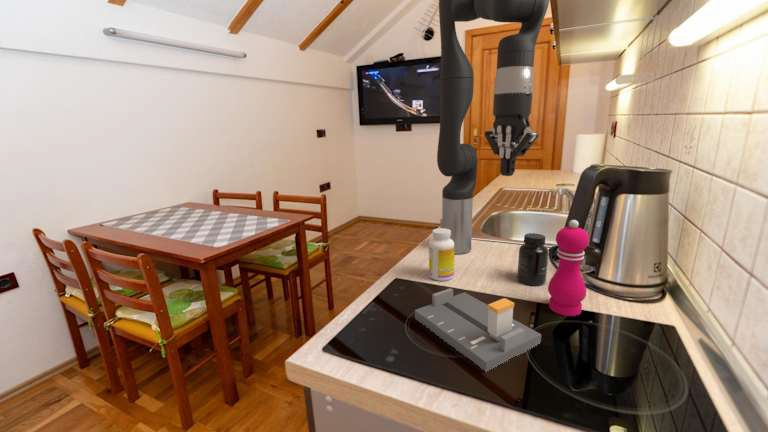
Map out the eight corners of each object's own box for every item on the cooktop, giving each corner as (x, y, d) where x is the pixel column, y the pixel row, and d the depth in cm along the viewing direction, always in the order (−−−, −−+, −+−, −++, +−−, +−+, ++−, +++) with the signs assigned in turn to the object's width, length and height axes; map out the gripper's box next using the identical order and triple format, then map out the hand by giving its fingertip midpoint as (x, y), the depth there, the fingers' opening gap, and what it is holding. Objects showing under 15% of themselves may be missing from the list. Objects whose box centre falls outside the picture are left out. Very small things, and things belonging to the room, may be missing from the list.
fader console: (414, 318, 75) (414, 299, 74) (464, 300, 82) (464, 282, 80) (485, 372, 58) (486, 349, 57) (540, 343, 65) (542, 322, 64)
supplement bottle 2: (548, 287, 86) (553, 240, 83) (519, 285, 88) (522, 240, 84) (542, 275, 93) (546, 232, 90) (515, 274, 94) (517, 231, 91)
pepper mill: (582, 321, 72) (594, 226, 66) (543, 312, 75) (552, 222, 70) (584, 305, 77) (595, 217, 72) (549, 297, 81) (556, 213, 76)
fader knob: (486, 336, 64) (488, 304, 62) (502, 329, 66) (504, 298, 64) (496, 342, 62) (497, 309, 60) (512, 334, 64) (514, 302, 62)
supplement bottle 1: (458, 275, 95) (459, 229, 91) (445, 284, 90) (445, 236, 87) (438, 269, 99) (438, 225, 96) (423, 277, 94) (423, 231, 91)
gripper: (476, 93, 76) (472, 173, 81) (527, 89, 65) (519, 181, 70) (501, 94, 80) (496, 170, 85) (553, 89, 69) (544, 177, 74)
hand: (507, 175), depth 77 cm, fingers closed
